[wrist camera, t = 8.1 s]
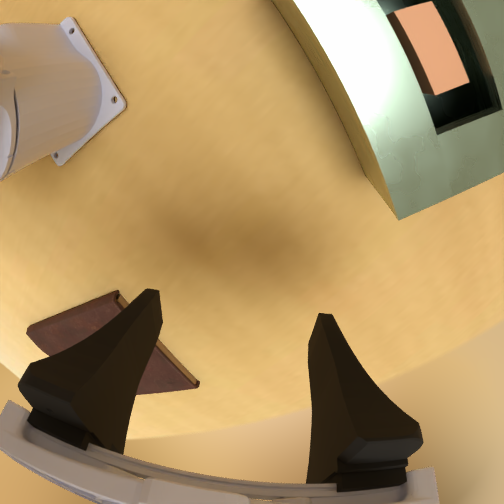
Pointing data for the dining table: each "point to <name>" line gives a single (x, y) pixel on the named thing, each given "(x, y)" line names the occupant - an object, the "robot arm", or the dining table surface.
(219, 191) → the dining table surface
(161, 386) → the notebook
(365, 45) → the green tissue box
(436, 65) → the orange rectangular block
